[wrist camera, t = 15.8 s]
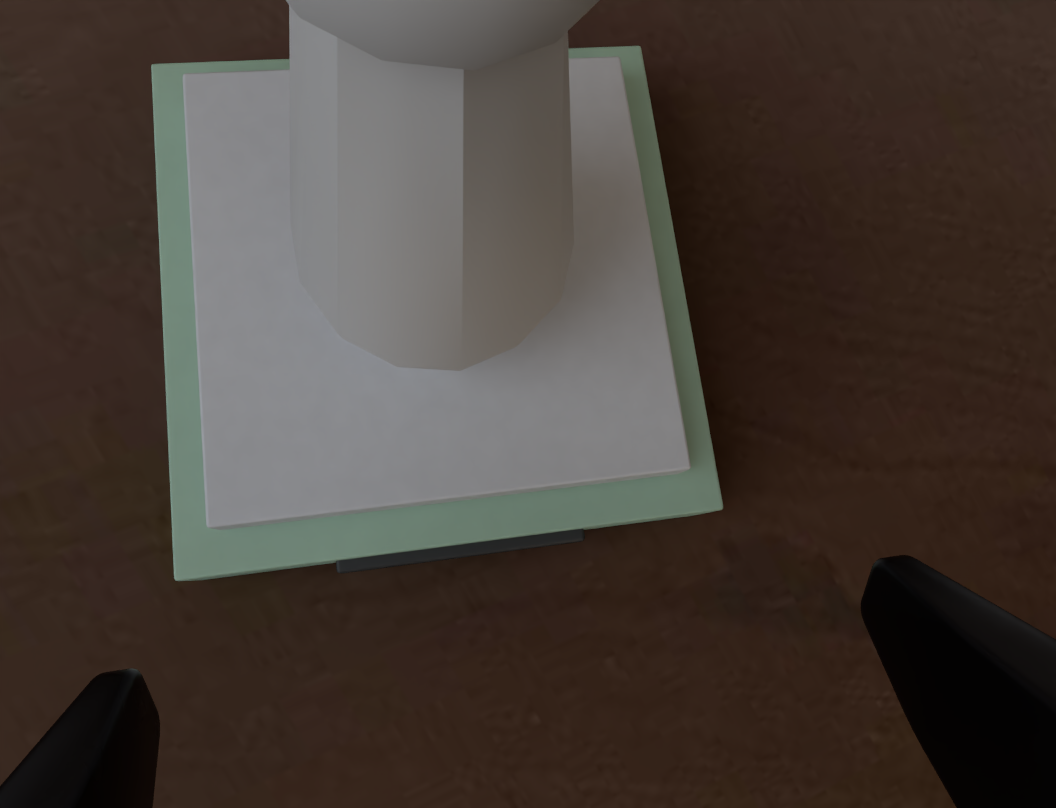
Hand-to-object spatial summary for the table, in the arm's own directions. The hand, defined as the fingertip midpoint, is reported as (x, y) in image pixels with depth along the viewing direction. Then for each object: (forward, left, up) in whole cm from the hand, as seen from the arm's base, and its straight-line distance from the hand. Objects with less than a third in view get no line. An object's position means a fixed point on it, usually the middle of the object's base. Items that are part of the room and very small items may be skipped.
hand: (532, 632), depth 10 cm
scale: (+7, +4, -11) cm, 13 cm away
